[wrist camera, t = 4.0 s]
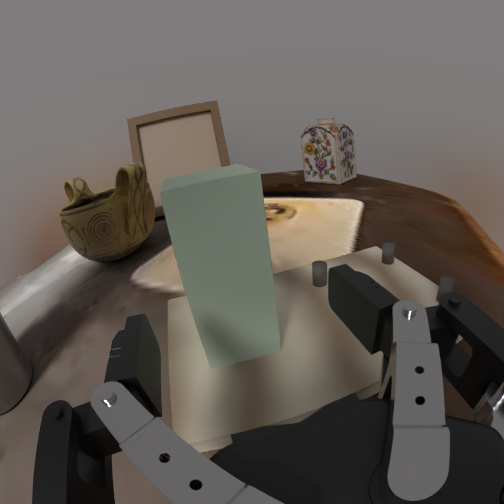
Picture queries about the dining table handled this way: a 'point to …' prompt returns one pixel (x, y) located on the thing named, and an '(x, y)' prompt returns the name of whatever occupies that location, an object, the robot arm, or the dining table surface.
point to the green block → (224, 260)
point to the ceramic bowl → (109, 215)
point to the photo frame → (178, 143)
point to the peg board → (285, 354)
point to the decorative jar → (328, 153)
